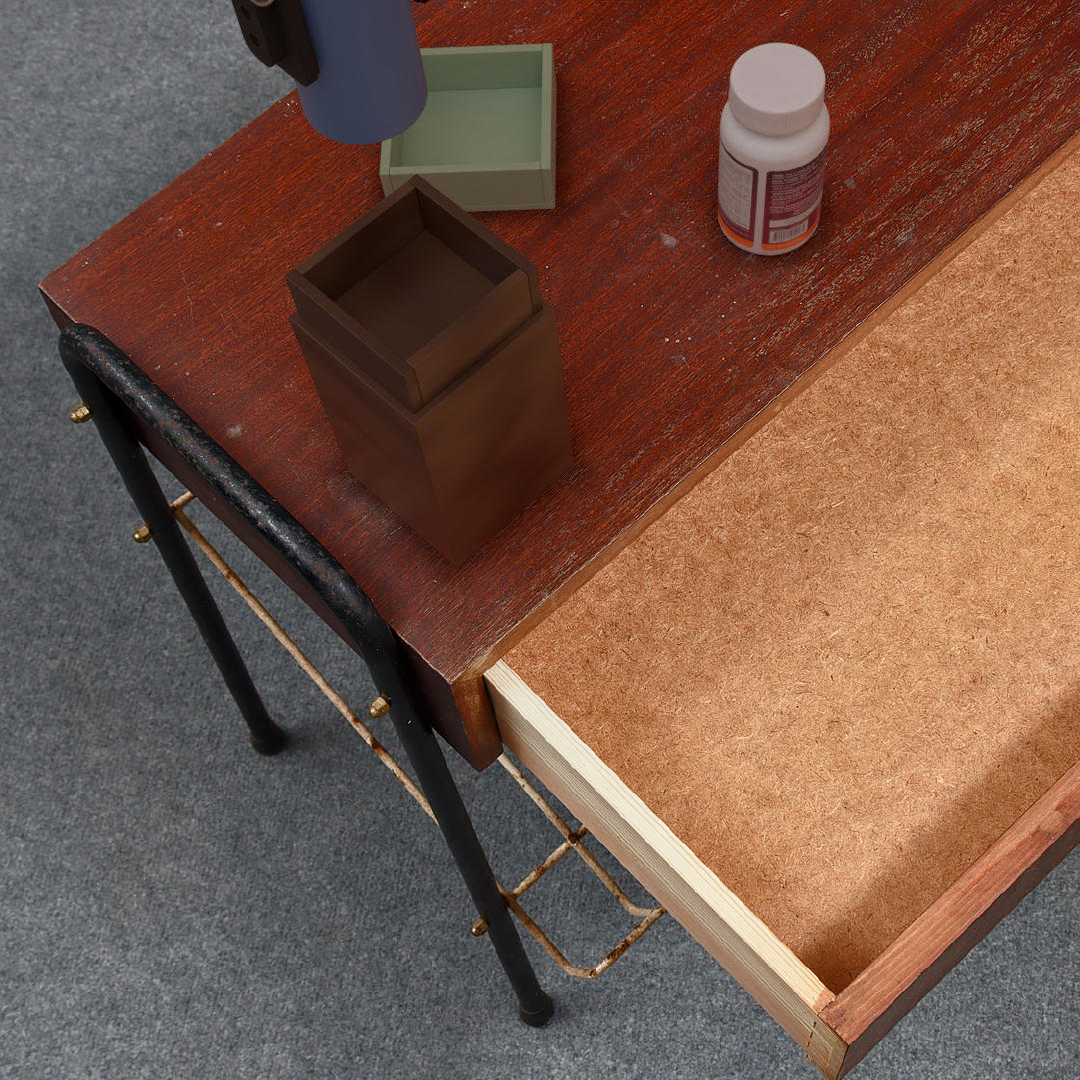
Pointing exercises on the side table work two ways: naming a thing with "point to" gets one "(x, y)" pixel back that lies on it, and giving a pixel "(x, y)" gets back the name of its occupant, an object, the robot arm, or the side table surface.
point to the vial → (363, 70)
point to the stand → (435, 366)
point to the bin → (482, 129)
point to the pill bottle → (773, 149)
